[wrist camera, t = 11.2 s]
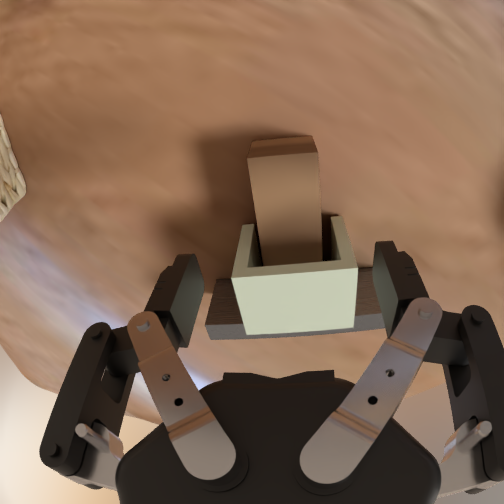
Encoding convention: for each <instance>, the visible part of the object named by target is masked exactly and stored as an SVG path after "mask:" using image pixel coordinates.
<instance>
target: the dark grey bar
mask: <svg viewBox="0 0 504 504" xmlns="http://www.w3.org/2000/svg"><path fill="white" fill-rule="evenodd" d="M372 271H373V267H371V268H360V269H358V277H357V292H356V305H355V316H354V326H353V328H343V329H332V330H321V331H308V332H293V333H276V334H255V335H246V331H245V327H244V324H243V320H242V316H241V313H240V309H239V305H238V302H237V298H236V294H235V290H234V287H233V283H232V279H221V280H216V283H215V287H214V291H213V295H212V299H211V303H210V307H209V311H208V315H207V318H206V322H205V327H206V329H207V332H208V334H209V337H210V339H211V340H224V339H258V338H279V337H296V336H311V335H323V334H335V333H346V332H355V331H365V330H374V329H382V328H385V324H384V320H383V316H382V313H381V309H380V305H379V301H378V297H377V294H376V290H375V287H374V283H373V274H372Z"/></svg>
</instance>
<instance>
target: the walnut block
mask: <svg viewBox="0 0 504 504" xmlns="http://www.w3.org/2000/svg"><path fill="white" fill-rule="evenodd" d="M247 163H248V169H249V175H250V181H251V188H252V194H253V200H254V207H255V213H256V220H257V226H258V233H259V239H260V245H261V252H262V259H263V265H264V266H276V265H288V264H300V263H313V262H322V221H321V196H320V176H319V160H318V151H317V148H316V146H315V143H314V140H313V137H312V136H303V137H290V138H278V139H268V140H258V141H252V144H251V147H250V150H249V153H248V156H247Z"/></svg>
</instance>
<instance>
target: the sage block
mask: <svg viewBox="0 0 504 504" xmlns="http://www.w3.org/2000/svg"><path fill="white" fill-rule="evenodd" d="M331 246H332V261H324V262H313V263H300V264H288V265H276V266H263V267H262V264H261V259H260V254H259V248H258V243H257V237H256V232H255V226H254V224H246V225H242V229H241V234H240V239H239V243H238V248H237V253H236V258H235V262H234V267H233V272H232V277H231V279H232V283H233V287H234V290H235V294H236V298H237V302H238V305H239V309H240V313H241V316H242V320H243V324H244V327H245V331H246V335H255V334H276V333H293V332H308V331H321V330H332V329H343V328H353V326H354V316H355V305H356V292H357V277H358V266H357V262H356V259H355V256H354V252H353V249H352V245H351V242H350V239H349V236H348V232H347V229H346V226H345V223H344V220H343V217H342V216H335V217H331Z"/></svg>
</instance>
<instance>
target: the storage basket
mask: <svg viewBox="0 0 504 504" xmlns="http://www.w3.org/2000/svg"><path fill="white" fill-rule="evenodd" d="M25 194H26V185H25V181H24V178H23V175H22V173H21V171H20V169H19V168H18V164H17V161H16V158H15V156H14V153H13V151H12V149H11V144H10V141H9V138H8V135H7V132H6V130H5V128H4V123H3V119H2V117H1V114H0V222H1V221H2V220H3V219H4V217H5V216H6V215H7V214H8V213H9V211H10V210H11V208H12V207H13V205H14V204H16V203H17V202H18V201H19V200H20V199H21V198H23V197H24V195H25Z"/></svg>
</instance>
